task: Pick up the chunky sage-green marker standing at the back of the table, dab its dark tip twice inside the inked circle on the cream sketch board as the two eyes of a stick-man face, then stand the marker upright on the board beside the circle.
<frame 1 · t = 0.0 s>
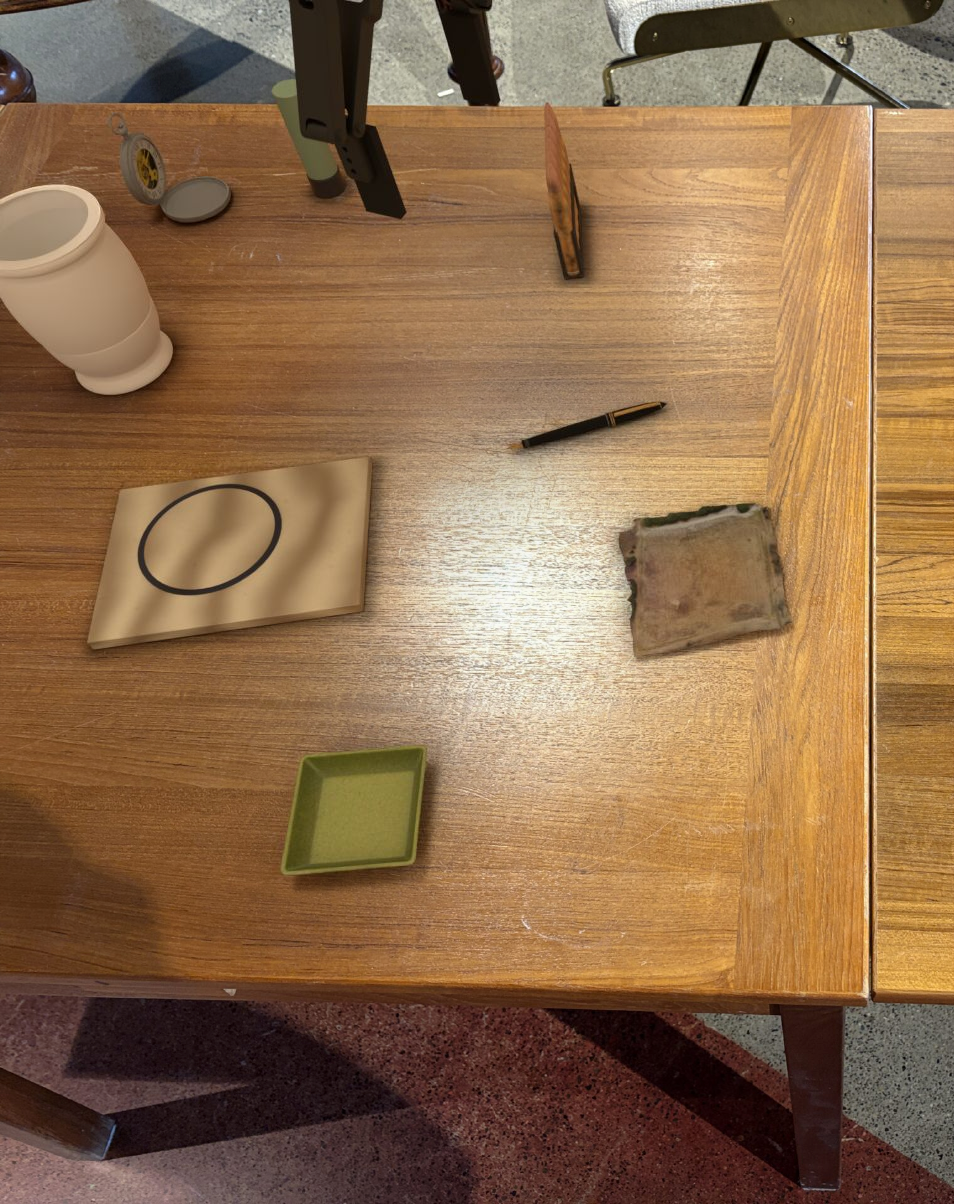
hand: (436, 154, 82), 23 cm above the table, tool pointing down, fingers open, 13 cm apart
olive green square tray: (366, 821, 79), on the table
marker: (329, 188, 118), on the table
fountain pen: (588, 433, 99), on the table
jar: (128, 364, 104), on the table
brown thin upright slab: (572, 243, 112), on the table
parchment: (703, 579, 90), on the table
pocket watch: (189, 206, 117), on the table
sketch board: (240, 552, 92), on the table
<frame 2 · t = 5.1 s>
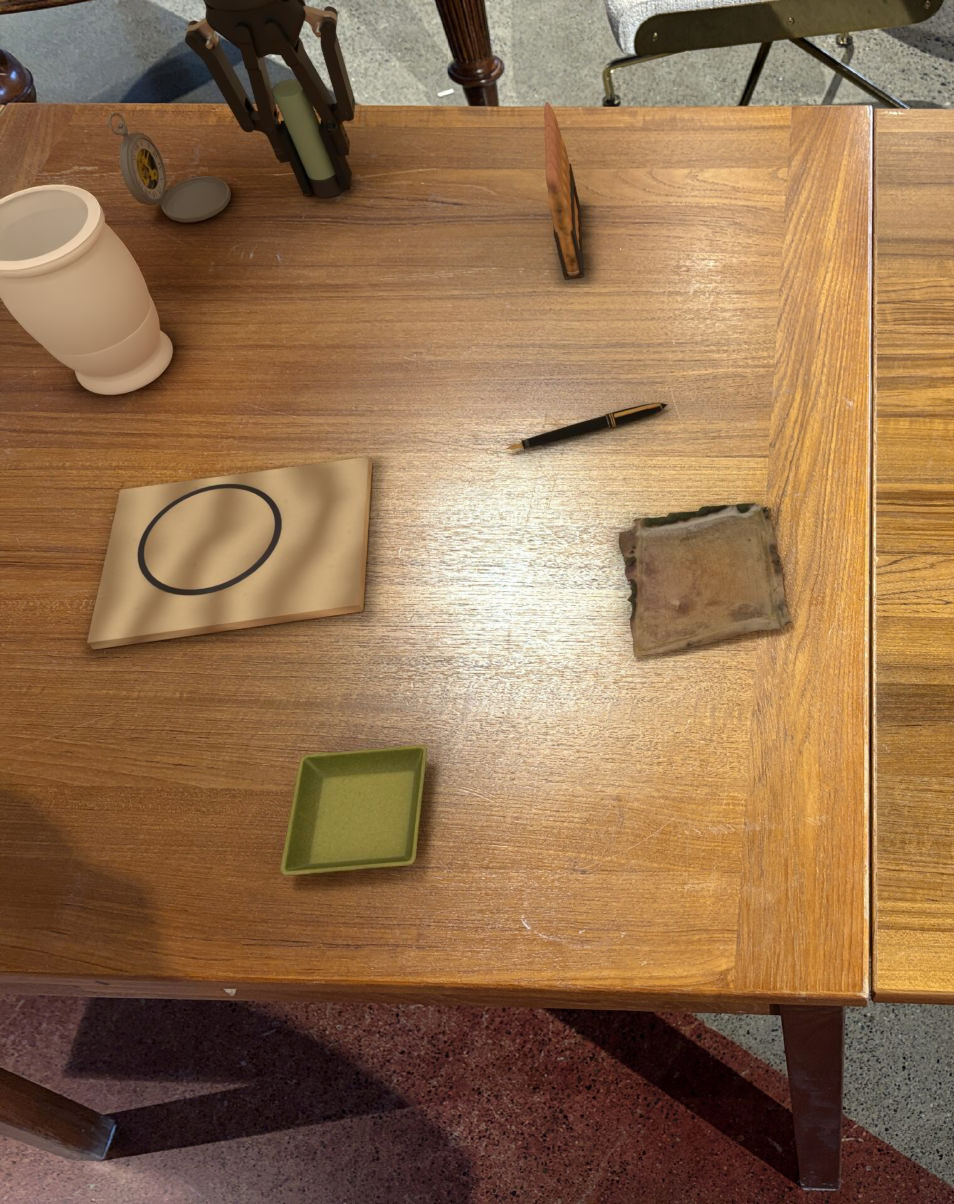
hand: (327, 183, 117), 1 cm above the table, tool pointing down, fingers closed on marker, 3 cm apart
marker: (329, 188, 118), on the table, touching gripper
everything else where it was.
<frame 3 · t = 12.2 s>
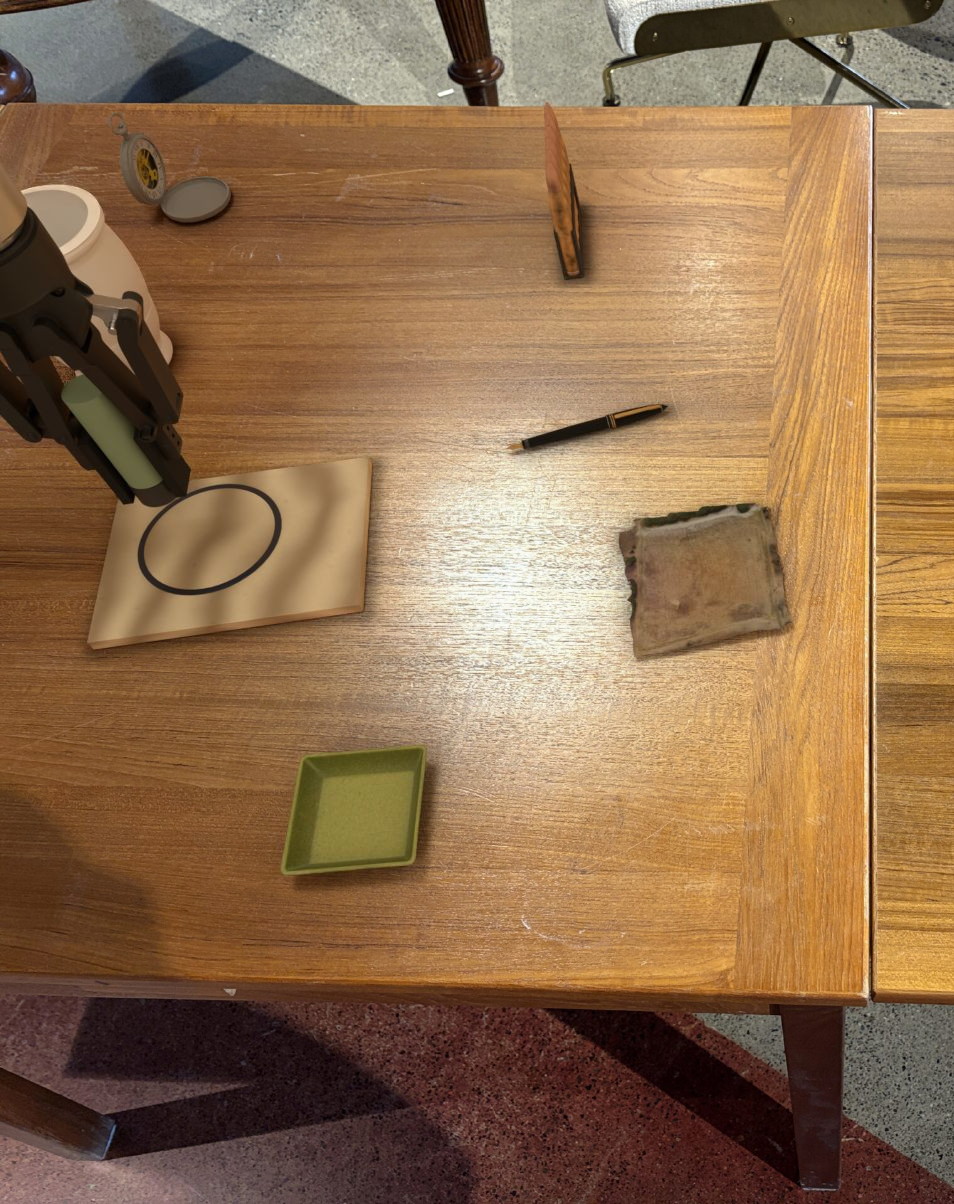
hand: (157, 486, 88), 6 cm above the table, tool pointing down, fingers closed on marker, 3 cm apart
marker: (160, 491, 88), point 6 cm above the table, touching gripper
everything else where it was.
when the fingers open (2 cm above the table, at t = 19.4 s): marker stays where it is, resting on sketch board.
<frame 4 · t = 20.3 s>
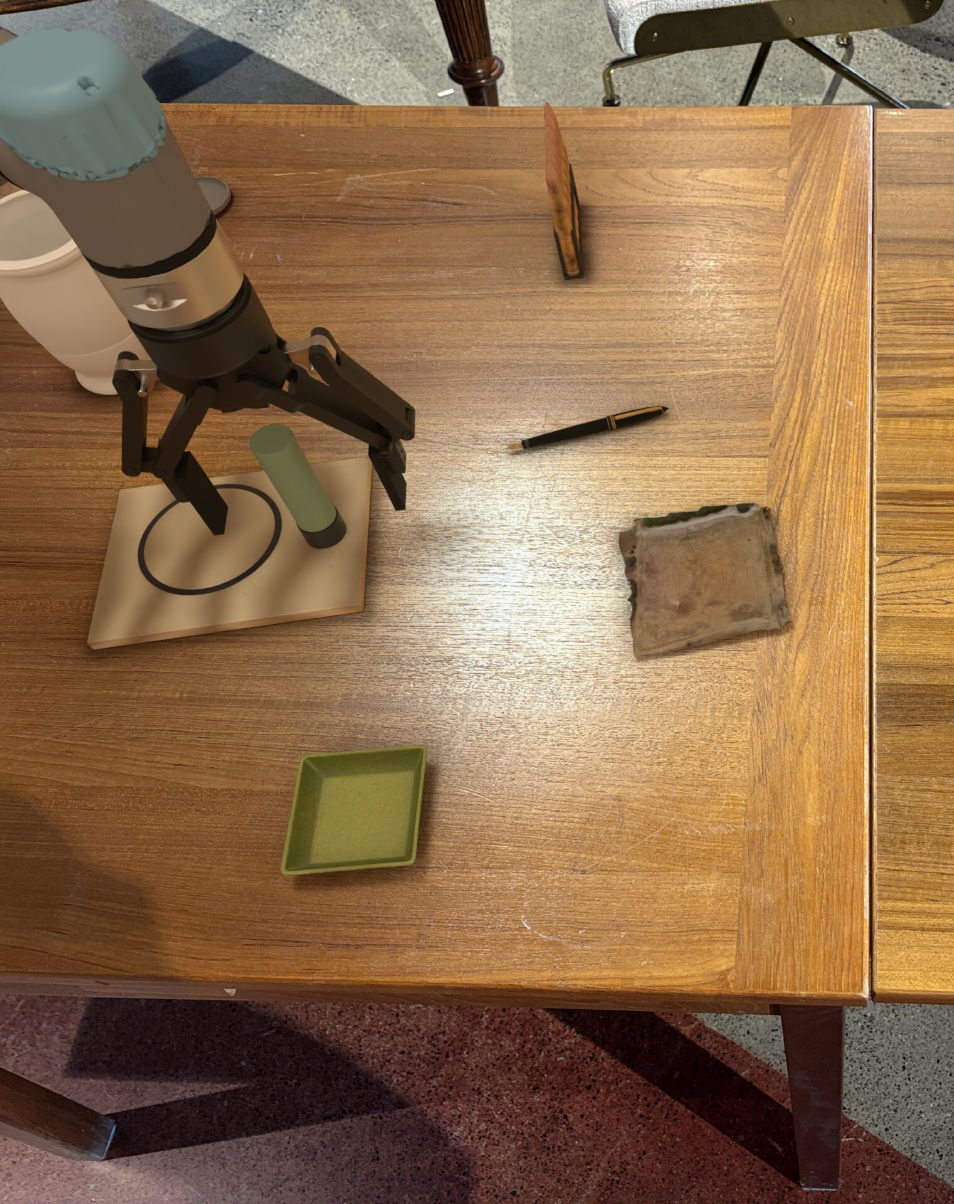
hand: (312, 509, 89), 4 cm above the table, tool pointing down, fingers open, 13 cm apart
marker: (326, 532, 92), point 1 cm above the table, touching sketch board
everything else where it was.
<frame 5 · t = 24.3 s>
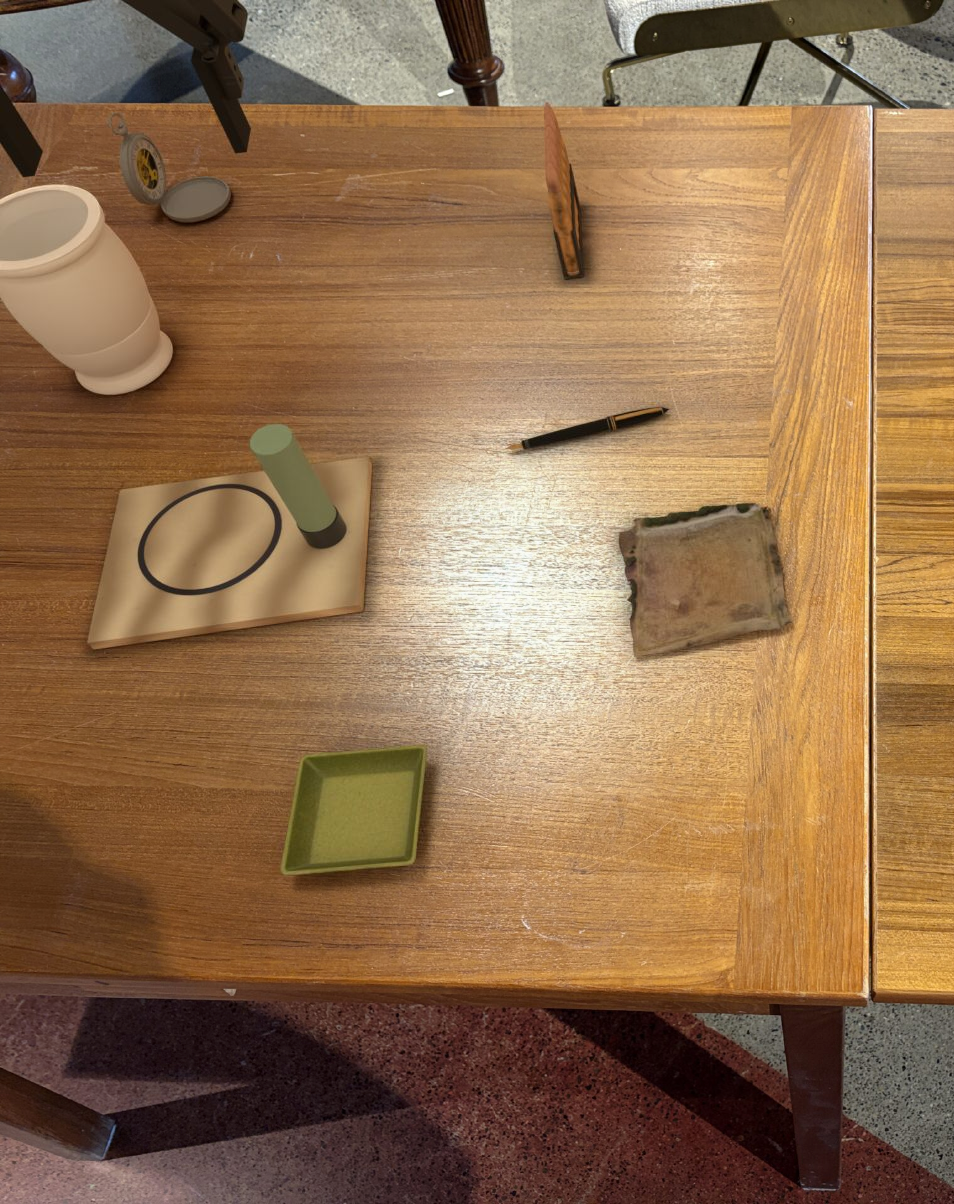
hand: (139, 153, 77), 27 cm above the table, tool pointing down, fingers open, 13 cm apart
nothing on the table moved.
at the end: marker inside the target area on the sketch board (0.3 cm from its centre), point 1.0 cm above the sketch board's base; marker tilted 0°; the gripper is holding nothing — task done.
